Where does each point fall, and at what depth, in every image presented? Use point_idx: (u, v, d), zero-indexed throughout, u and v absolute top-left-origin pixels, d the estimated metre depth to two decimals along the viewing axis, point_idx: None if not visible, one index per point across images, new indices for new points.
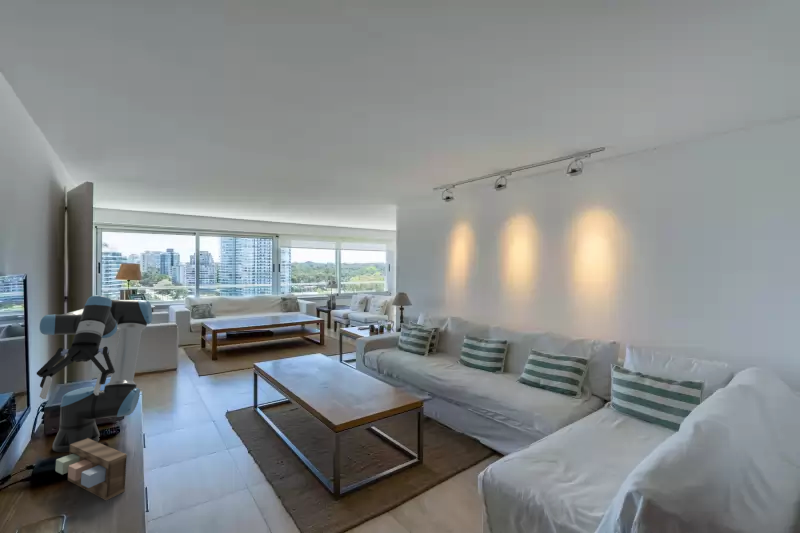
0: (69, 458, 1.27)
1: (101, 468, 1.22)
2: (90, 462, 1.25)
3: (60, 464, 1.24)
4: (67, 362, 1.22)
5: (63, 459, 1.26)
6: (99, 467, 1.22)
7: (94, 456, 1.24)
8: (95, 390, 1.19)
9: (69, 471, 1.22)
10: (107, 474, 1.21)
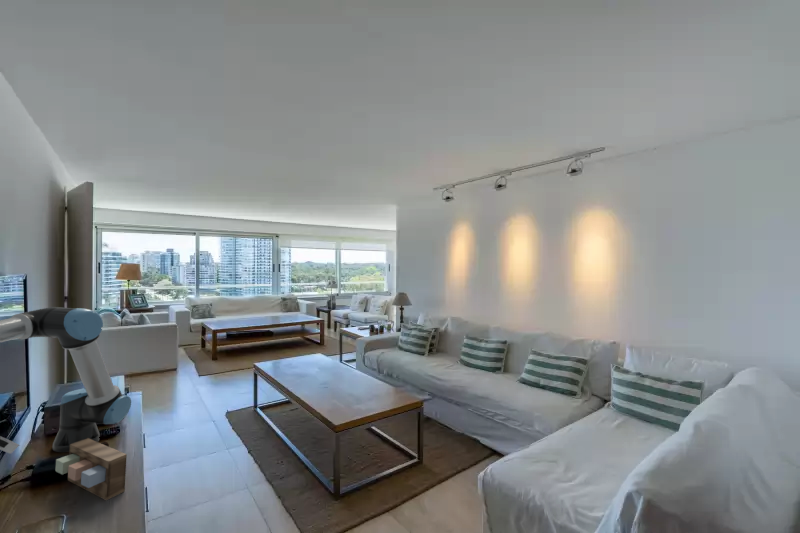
0: (69, 458, 1.27)
1: (101, 468, 1.22)
2: (90, 462, 1.25)
3: (60, 464, 1.24)
4: None
5: (63, 459, 1.26)
6: (99, 467, 1.22)
7: (94, 456, 1.24)
8: (7, 452, 1.08)
9: (69, 471, 1.22)
10: (107, 474, 1.21)
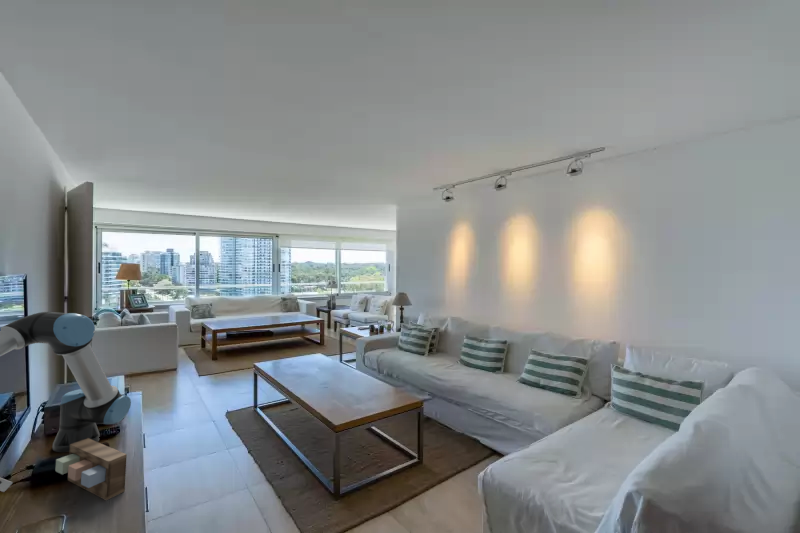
0: (69, 458, 1.27)
1: (101, 468, 1.22)
2: (90, 462, 1.25)
3: (60, 464, 1.24)
4: None
5: (63, 459, 1.26)
6: (99, 467, 1.22)
7: (94, 456, 1.24)
8: (1, 490, 1.11)
9: (69, 471, 1.22)
10: (107, 474, 1.21)
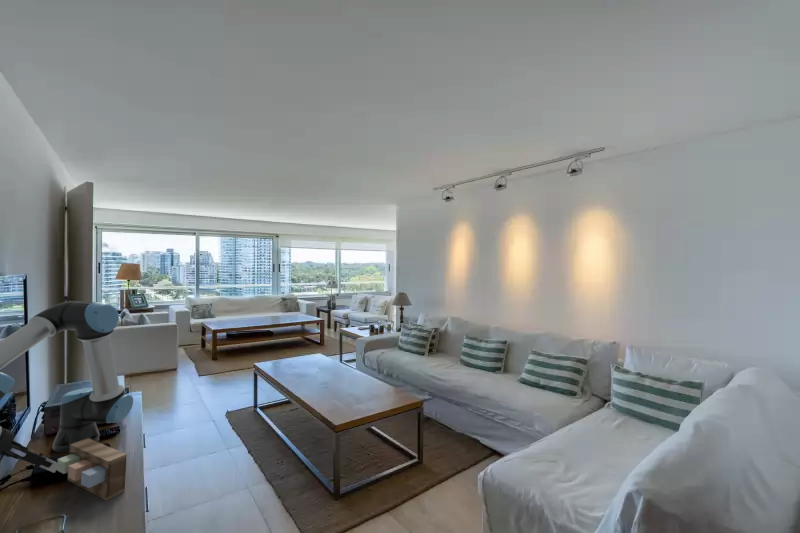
0: (71, 457, 1.27)
1: (101, 468, 1.22)
2: (90, 462, 1.25)
3: (61, 464, 1.25)
4: None
5: (64, 459, 1.26)
6: (99, 467, 1.22)
7: (94, 456, 1.24)
8: (51, 471, 1.22)
9: (69, 471, 1.22)
10: (107, 474, 1.21)
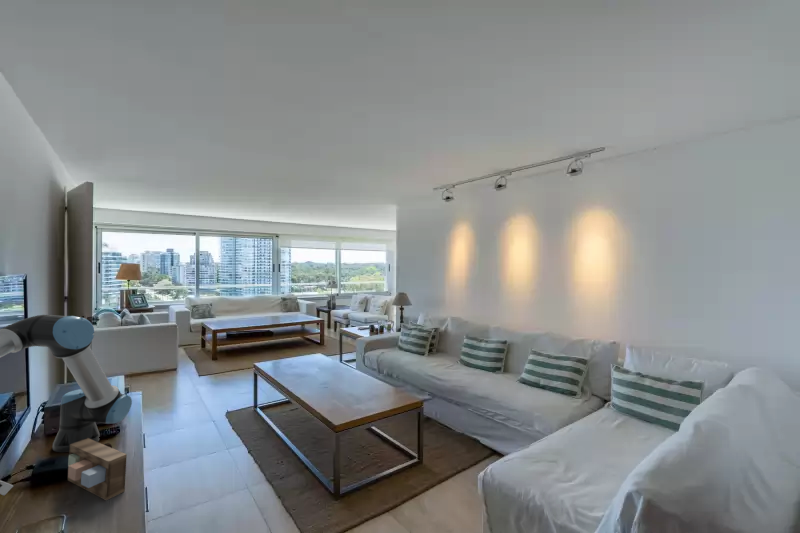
0: None
1: (101, 468, 1.22)
2: (90, 462, 1.25)
3: (72, 460, 1.28)
4: None
5: (75, 455, 1.29)
6: (99, 467, 1.22)
7: (94, 456, 1.24)
8: None
9: (69, 471, 1.22)
10: (107, 474, 1.21)
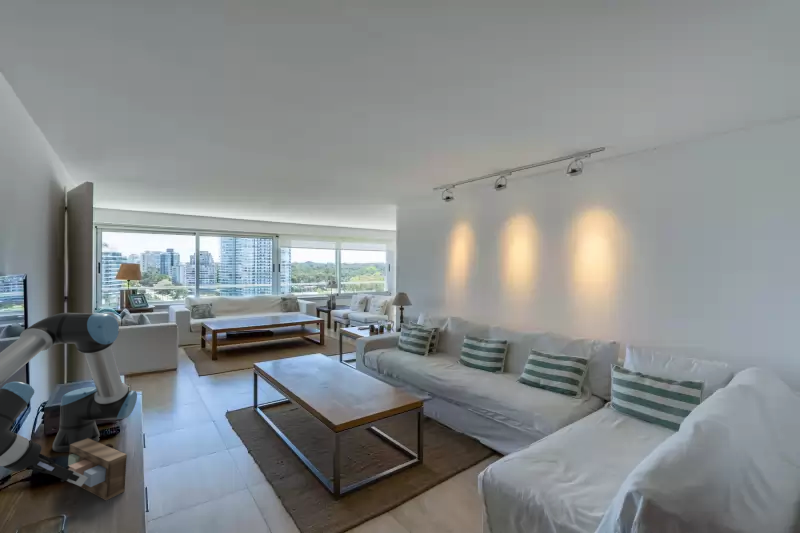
0: None
1: (103, 467, 1.22)
2: (90, 462, 1.25)
3: (72, 460, 1.28)
4: None
5: (75, 455, 1.29)
6: (101, 466, 1.23)
7: (94, 456, 1.24)
8: (78, 485, 1.16)
9: None
10: (107, 474, 1.21)
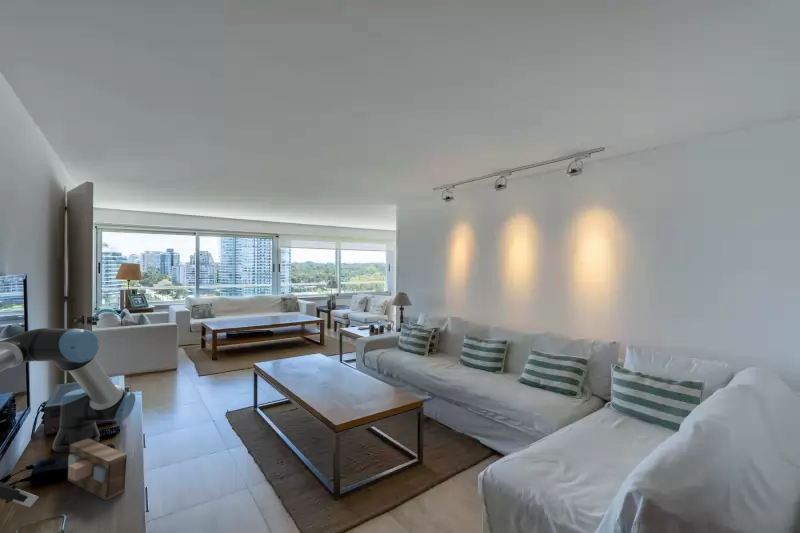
0: None
1: None
2: (90, 462, 1.25)
3: (72, 460, 1.28)
4: None
5: (75, 455, 1.29)
6: None
7: (94, 456, 1.24)
8: None
9: (69, 471, 1.22)
10: (107, 474, 1.21)
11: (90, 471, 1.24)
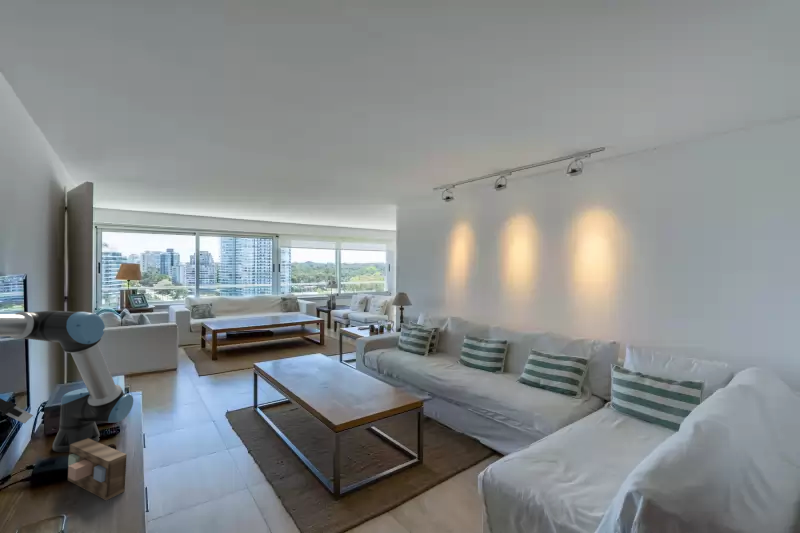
0: None
1: None
2: (90, 462, 1.25)
3: (72, 460, 1.28)
4: None
5: (75, 455, 1.29)
6: None
7: (94, 456, 1.24)
8: (22, 422, 1.10)
9: (69, 471, 1.22)
10: (107, 474, 1.21)
11: (90, 471, 1.24)
